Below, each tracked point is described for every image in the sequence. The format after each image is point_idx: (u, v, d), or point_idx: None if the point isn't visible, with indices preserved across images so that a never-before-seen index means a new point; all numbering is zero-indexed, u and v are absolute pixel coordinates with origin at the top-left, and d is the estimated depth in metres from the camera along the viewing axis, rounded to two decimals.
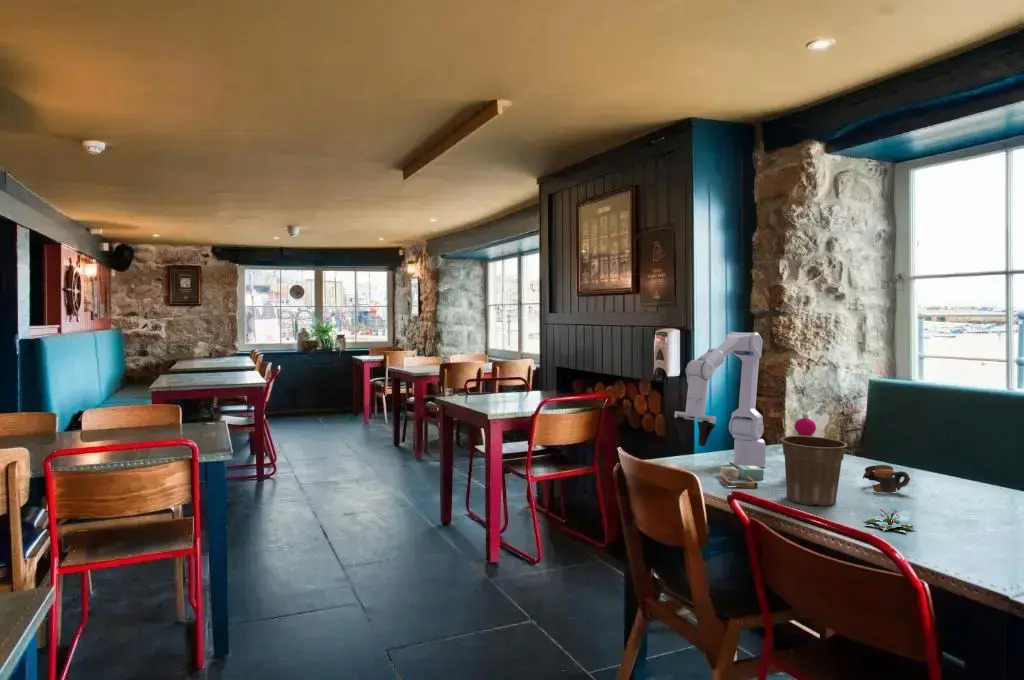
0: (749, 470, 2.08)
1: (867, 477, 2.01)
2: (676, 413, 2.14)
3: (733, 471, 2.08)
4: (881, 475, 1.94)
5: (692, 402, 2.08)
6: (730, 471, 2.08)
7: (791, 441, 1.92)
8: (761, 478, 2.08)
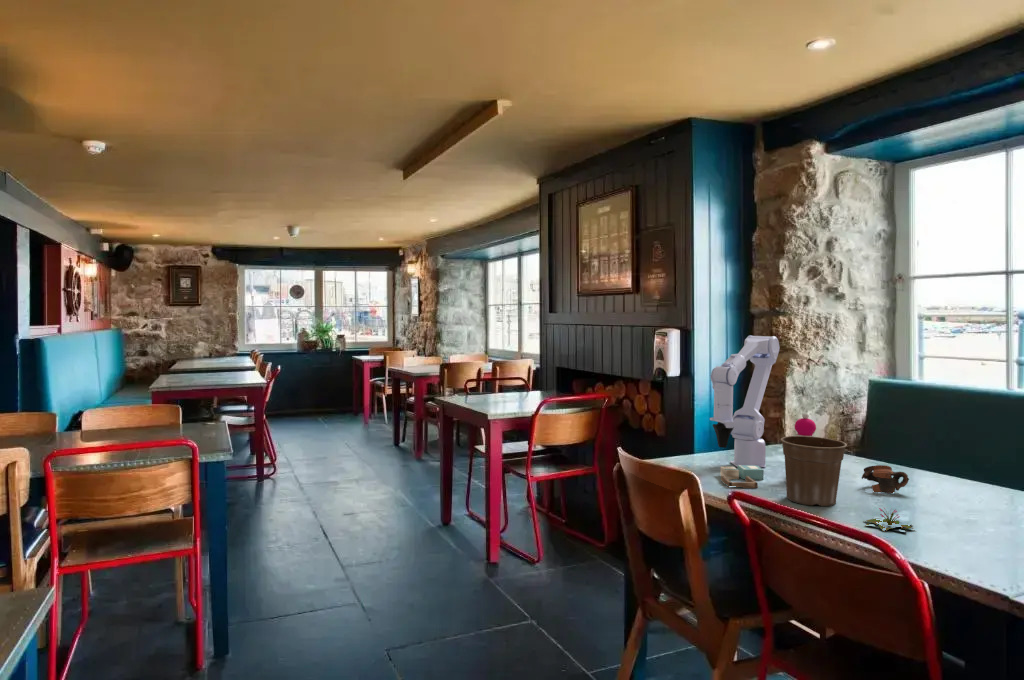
0: (749, 470, 2.08)
1: (866, 477, 2.01)
2: None
3: (733, 471, 2.09)
4: (880, 475, 1.94)
5: (715, 407, 2.17)
6: (730, 471, 2.09)
7: (791, 441, 1.92)
8: (761, 478, 2.08)
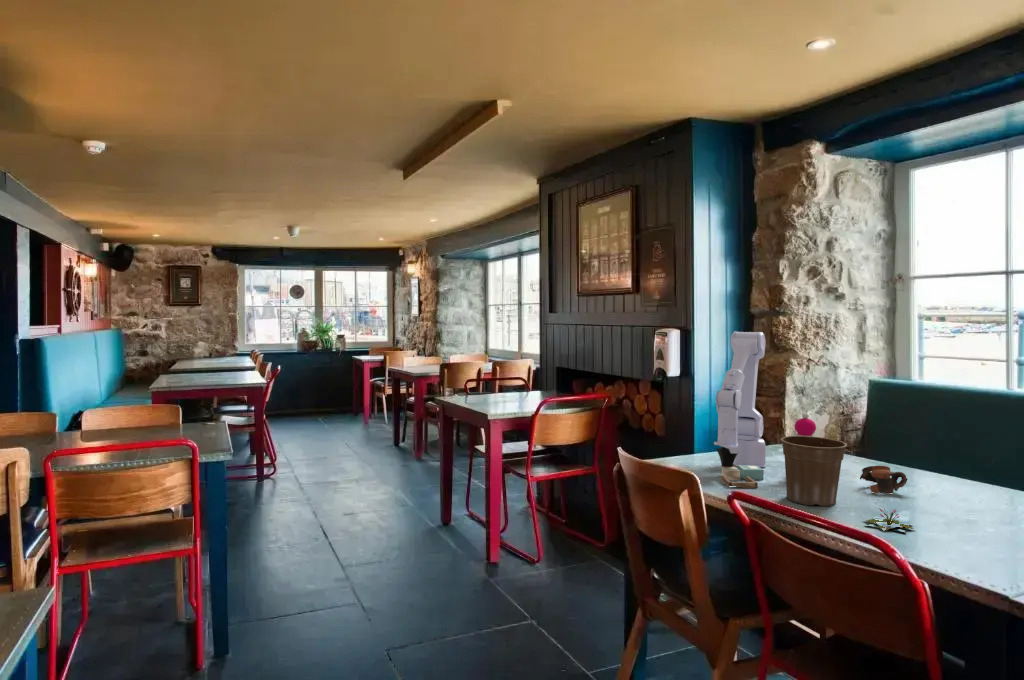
0: (749, 470, 2.08)
1: (864, 478, 2.01)
2: None
3: (735, 471, 2.07)
4: (878, 476, 1.94)
5: (719, 431, 2.12)
6: (732, 471, 2.07)
7: (791, 441, 1.92)
8: (761, 478, 2.08)
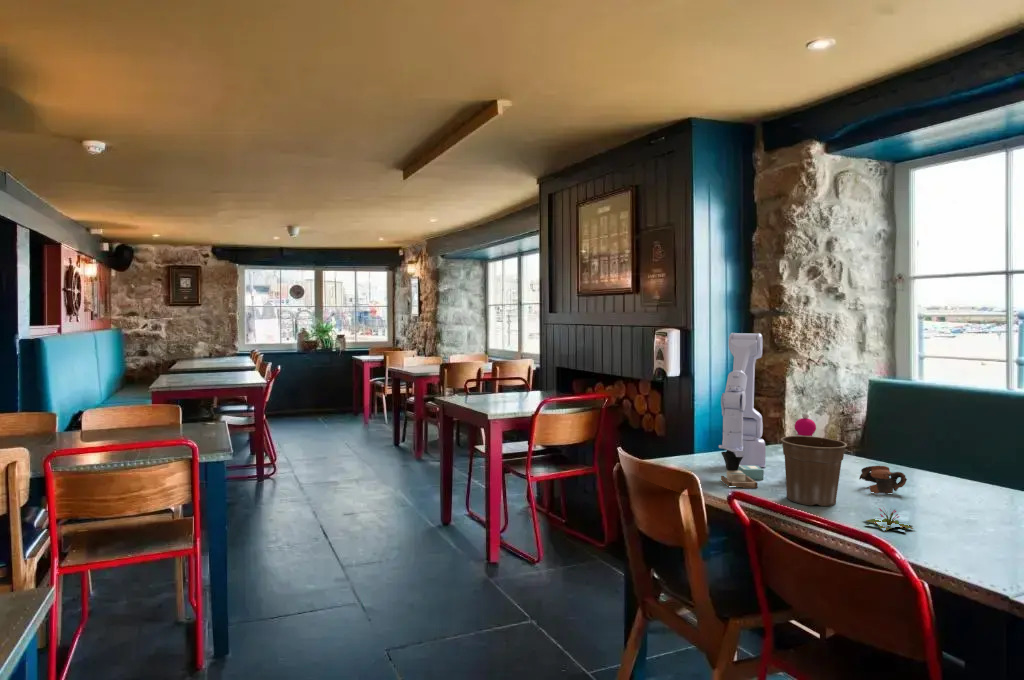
0: (749, 470, 2.08)
1: (863, 478, 2.00)
2: (722, 443, 2.15)
3: (740, 475, 2.02)
4: (878, 476, 1.93)
5: (724, 434, 2.07)
6: (737, 475, 2.02)
7: (791, 441, 1.92)
8: (761, 478, 2.08)
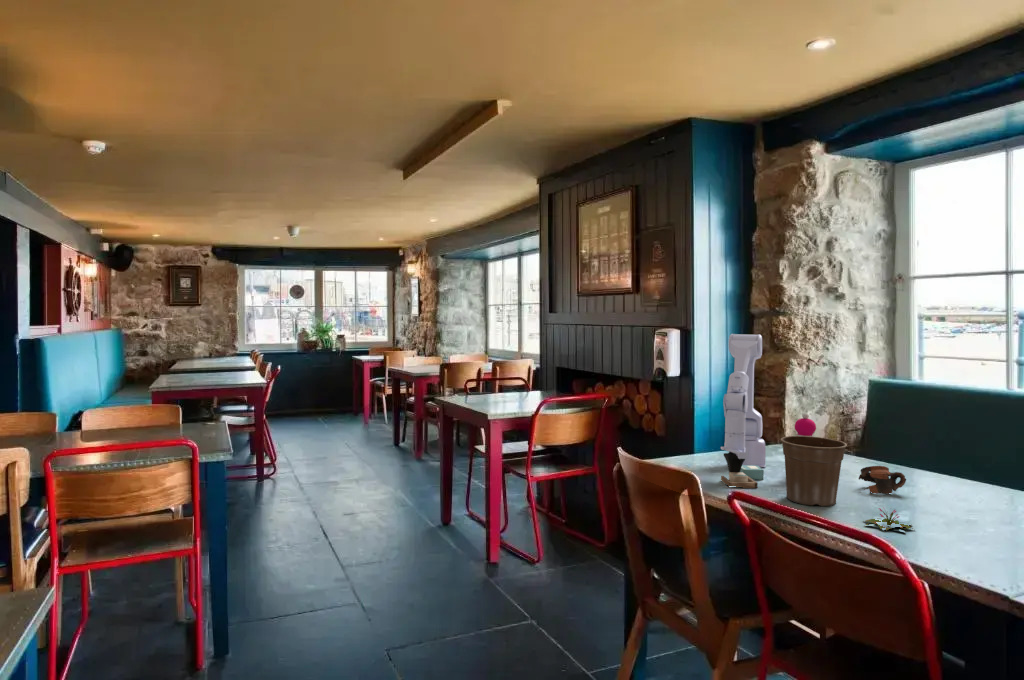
0: (749, 470, 2.08)
1: (863, 478, 2.00)
2: (725, 445, 2.12)
3: (742, 477, 2.00)
4: (877, 476, 1.93)
5: (726, 436, 2.05)
6: (739, 477, 2.00)
7: (791, 441, 1.92)
8: (761, 478, 2.08)
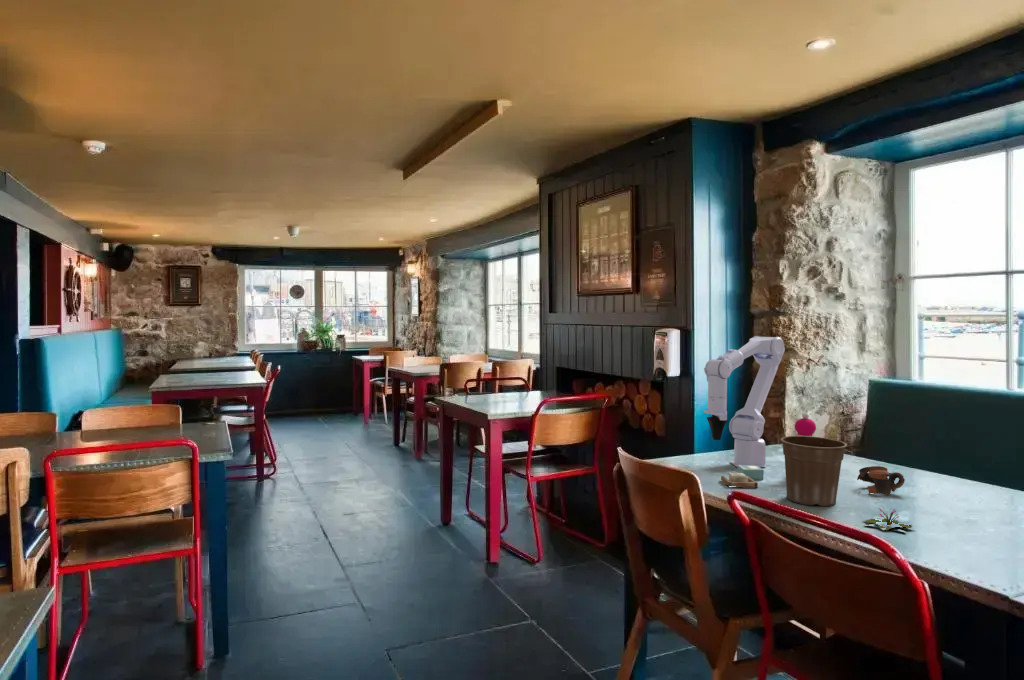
0: (749, 470, 2.08)
1: (861, 478, 2.00)
2: None
3: (742, 478, 2.00)
4: (876, 476, 1.93)
5: (709, 400, 2.19)
6: (739, 478, 2.00)
7: (791, 441, 1.92)
8: (761, 478, 2.08)
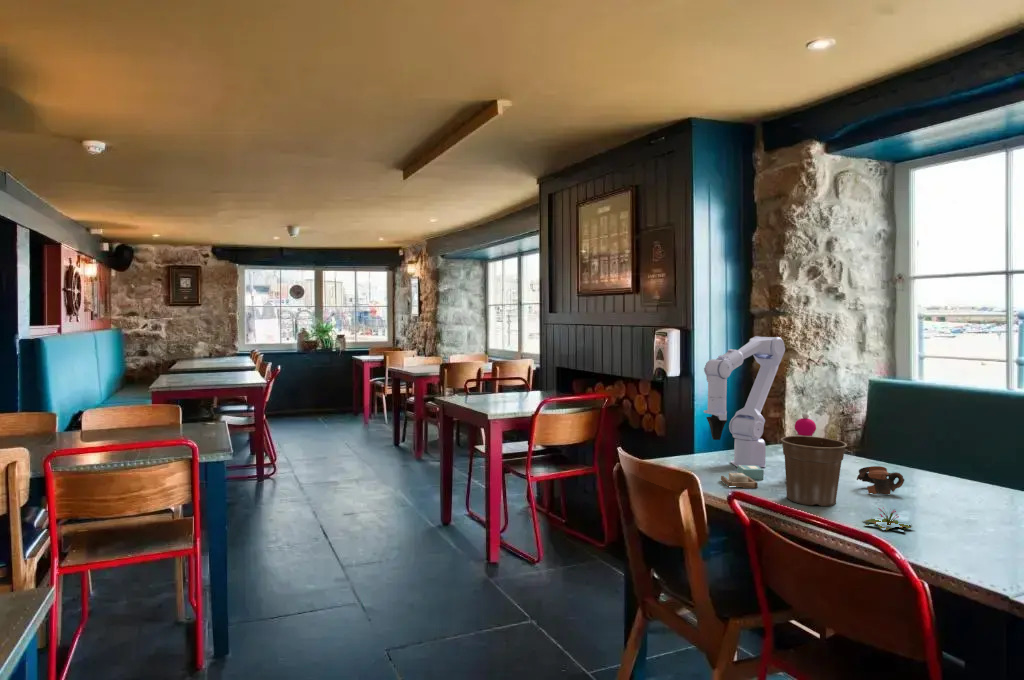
0: (749, 470, 2.08)
1: (861, 478, 2.00)
2: None
3: (743, 478, 2.00)
4: (875, 476, 1.93)
5: (709, 400, 2.19)
6: (739, 478, 2.00)
7: (791, 441, 1.92)
8: (761, 478, 2.08)
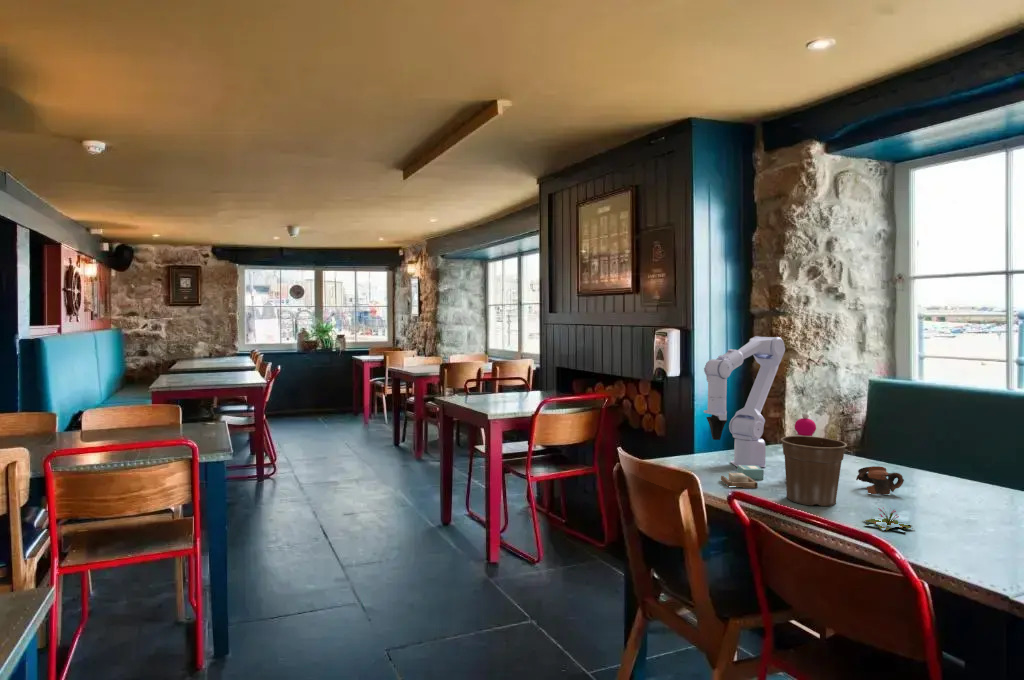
0: (749, 470, 2.08)
1: (860, 478, 2.00)
2: None
3: (743, 478, 2.00)
4: (875, 476, 1.93)
5: (709, 400, 2.19)
6: (740, 478, 2.00)
7: (791, 441, 1.92)
8: (761, 478, 2.08)
